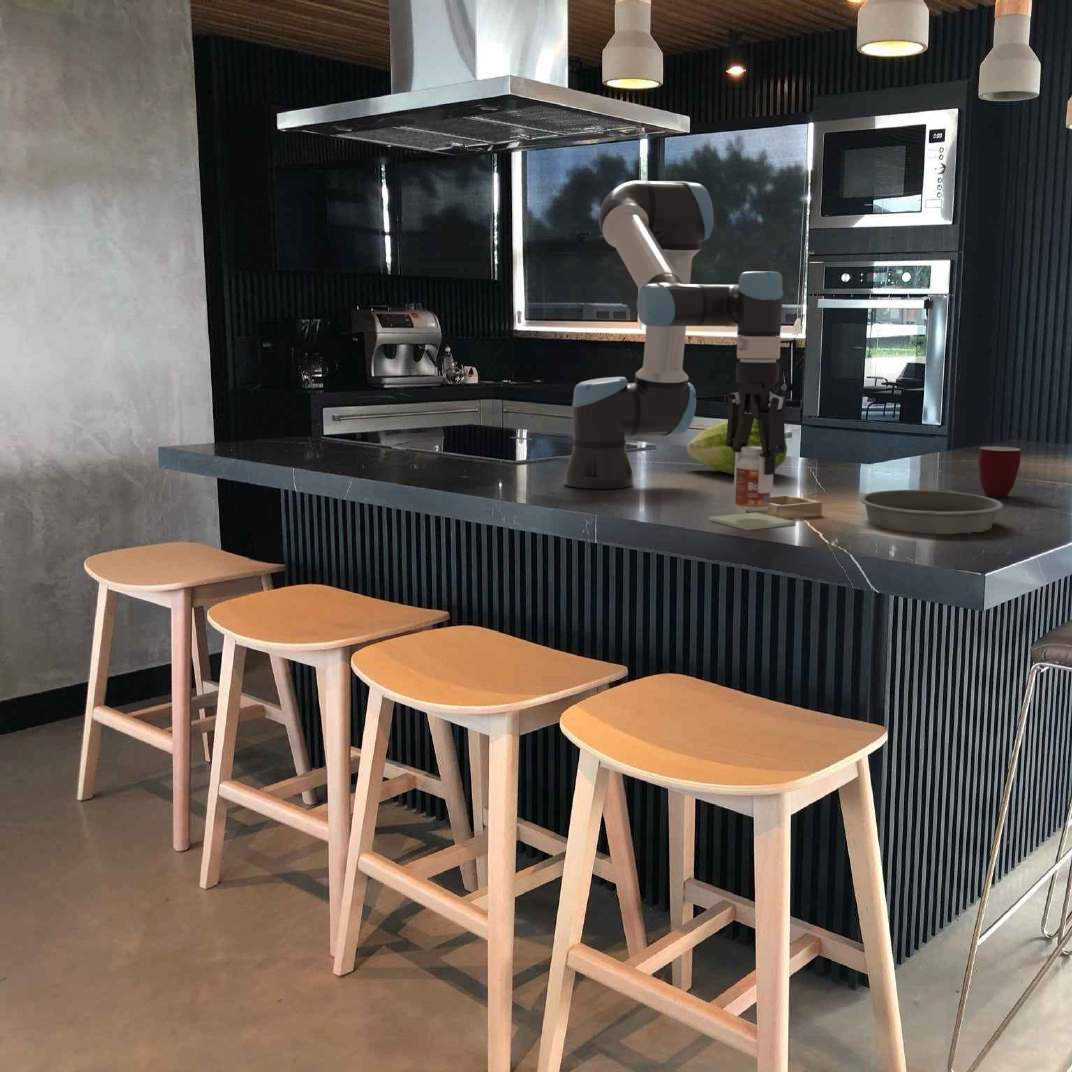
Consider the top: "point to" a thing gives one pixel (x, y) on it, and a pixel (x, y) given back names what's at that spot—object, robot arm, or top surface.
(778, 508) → the pocket frame
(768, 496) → the pill bottle
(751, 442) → the lettuce
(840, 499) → the top surface
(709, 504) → the top surface
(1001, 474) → the mug
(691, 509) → the top surface
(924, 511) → the cake pan
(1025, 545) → the top surface
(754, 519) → the coaster
